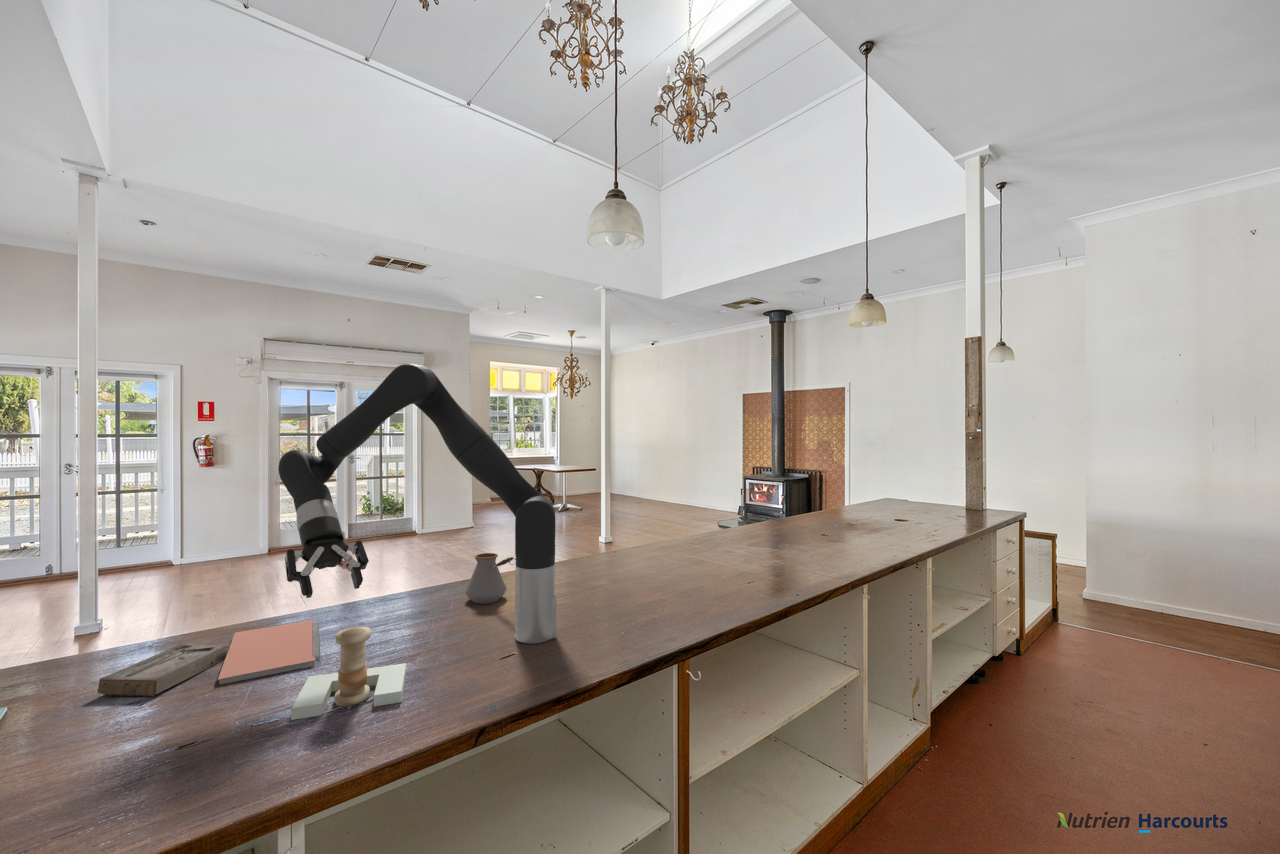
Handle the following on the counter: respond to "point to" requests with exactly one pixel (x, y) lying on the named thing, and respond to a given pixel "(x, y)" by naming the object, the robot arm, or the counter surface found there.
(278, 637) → the notebook
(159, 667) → the box
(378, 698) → the notched board
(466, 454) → the robot arm
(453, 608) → the counter surface
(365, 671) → the bobbin
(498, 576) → the coffee pot
